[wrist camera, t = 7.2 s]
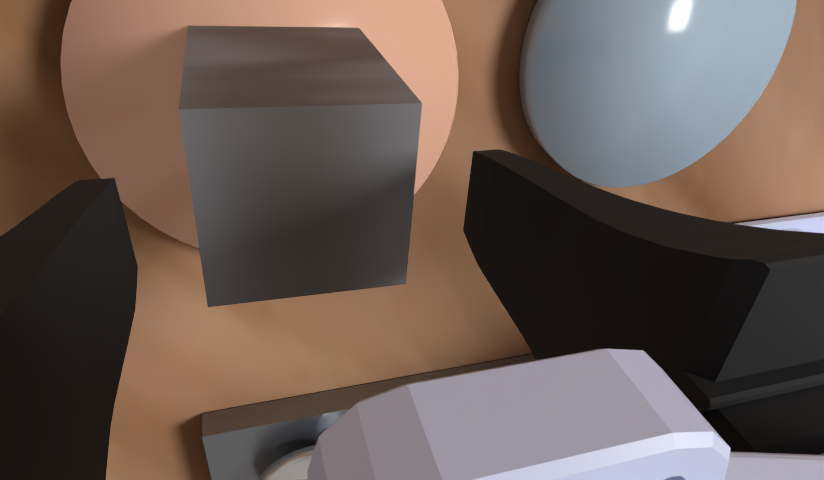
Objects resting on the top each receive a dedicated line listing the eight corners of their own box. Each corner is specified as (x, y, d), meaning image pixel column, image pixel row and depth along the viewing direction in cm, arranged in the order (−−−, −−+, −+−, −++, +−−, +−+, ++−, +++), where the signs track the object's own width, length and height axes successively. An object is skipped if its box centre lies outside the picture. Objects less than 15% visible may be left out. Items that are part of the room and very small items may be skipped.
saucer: (821, -110, 19) (848, -108, 18) (715, 165, 24) (732, 176, 24) (549, -128, 16) (566, -126, 15) (499, 185, 22) (510, 198, 21)
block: (358, 27, 16) (422, 103, 11) (355, 172, 19) (405, 284, 14) (188, 25, 15) (178, 109, 10) (208, 180, 17) (207, 306, 13)
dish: (464, -111, 16) (478, -109, 15) (434, 226, 22) (442, 240, 21) (9, -136, 13) (-4, -135, 12) (119, 261, 19) (115, 279, 18)
